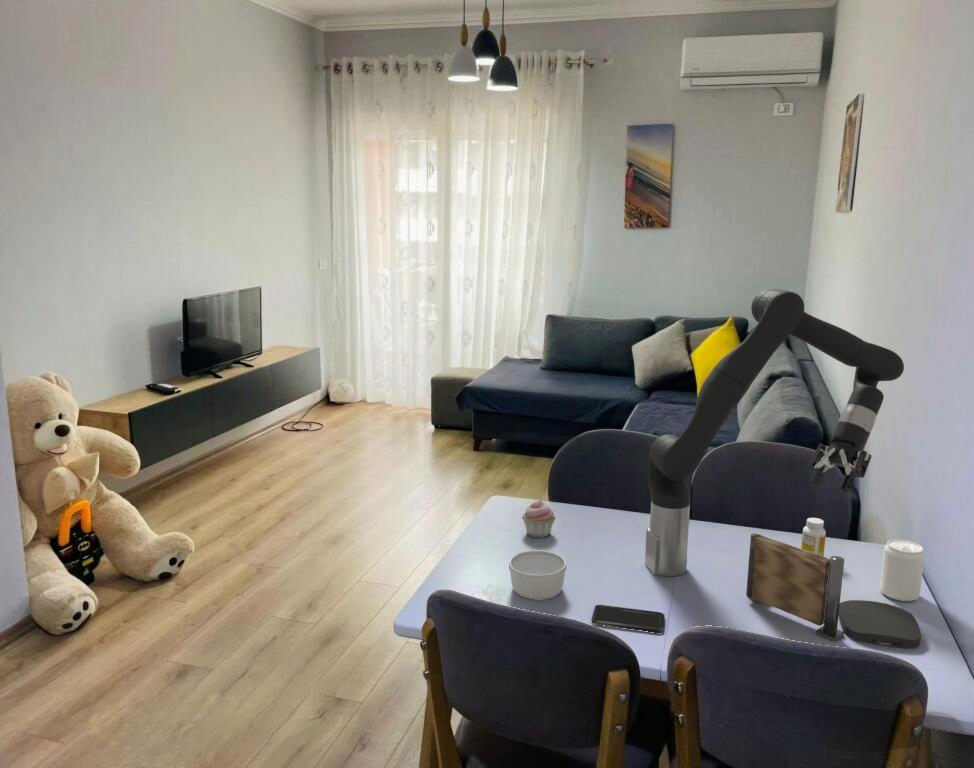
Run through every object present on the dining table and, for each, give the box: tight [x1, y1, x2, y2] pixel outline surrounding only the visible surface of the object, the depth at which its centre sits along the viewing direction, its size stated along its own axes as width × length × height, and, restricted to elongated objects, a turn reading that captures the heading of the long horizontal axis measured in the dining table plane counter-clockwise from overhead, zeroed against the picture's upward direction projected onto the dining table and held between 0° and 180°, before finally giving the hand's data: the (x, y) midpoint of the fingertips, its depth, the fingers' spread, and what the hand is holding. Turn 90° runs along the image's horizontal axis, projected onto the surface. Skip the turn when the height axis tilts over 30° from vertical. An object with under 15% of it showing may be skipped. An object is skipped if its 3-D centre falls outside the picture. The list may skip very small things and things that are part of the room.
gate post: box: [747, 555, 845, 643], centre depth 167 cm, size 22×6×17 cm, turn 40°
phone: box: [591, 604, 666, 634], centre depth 168 cm, size 8×1×15 cm
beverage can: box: [879, 539, 926, 602], centre depth 177 cm, size 8×8×12 cm
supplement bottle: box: [800, 517, 827, 557], centre depth 197 cm, size 5×5×10 cm
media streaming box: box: [838, 599, 922, 650], centre depth 164 cm, size 15×15×3 cm
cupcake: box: [521, 498, 557, 538], centre depth 211 cm, size 9×9×10 cm
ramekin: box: [508, 549, 567, 601], centre depth 180 cm, size 13×13×7 cm
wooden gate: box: [745, 532, 830, 627], centre depth 168 cm, size 18×2×14 cm, turn 40°
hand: (828, 488), depth 185 cm, fingers open, 8 cm apart
